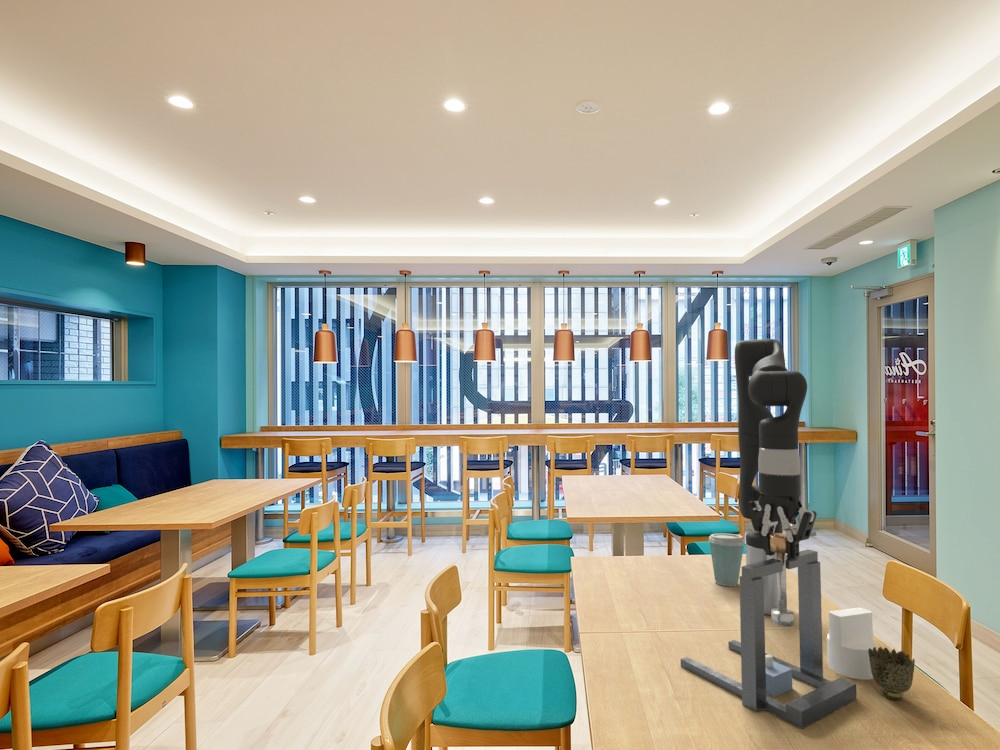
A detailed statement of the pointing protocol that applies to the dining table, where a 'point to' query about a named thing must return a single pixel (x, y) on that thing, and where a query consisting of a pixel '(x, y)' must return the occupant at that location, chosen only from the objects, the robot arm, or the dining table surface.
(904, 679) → the cup
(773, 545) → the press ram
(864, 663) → the base with upright slab
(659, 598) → the dining table surface
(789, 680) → the housing block
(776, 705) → the press frame
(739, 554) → the disposable coffee cup
